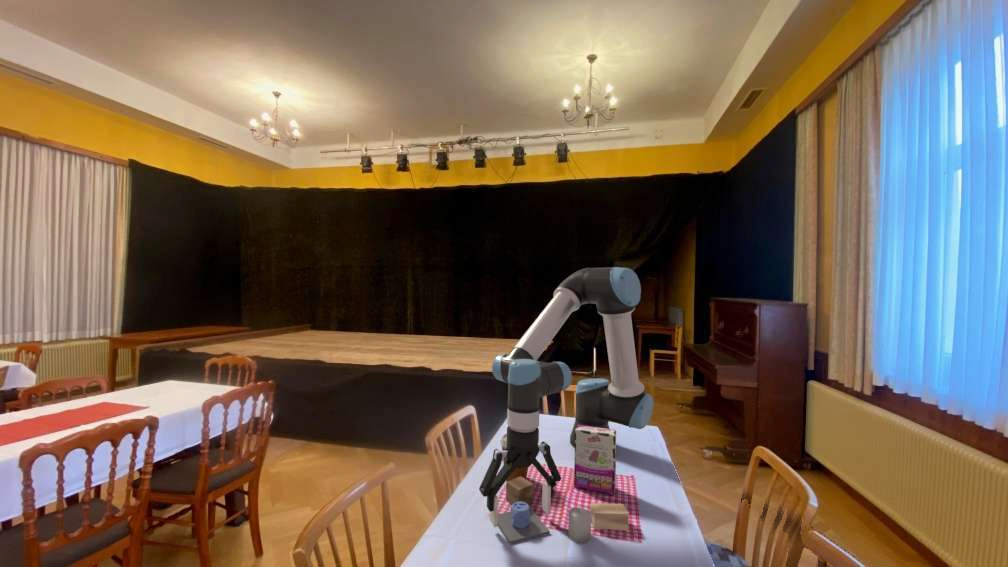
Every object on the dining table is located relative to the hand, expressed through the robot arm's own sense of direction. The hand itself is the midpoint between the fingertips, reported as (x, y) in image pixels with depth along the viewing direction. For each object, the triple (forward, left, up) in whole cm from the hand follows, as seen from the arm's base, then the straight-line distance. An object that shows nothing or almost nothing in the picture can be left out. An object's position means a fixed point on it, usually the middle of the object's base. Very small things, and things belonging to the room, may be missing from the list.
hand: (520, 517), depth 89 cm
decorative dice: (0, 0, -2) cm, 2 cm away
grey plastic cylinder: (-11, +8, -2) cm, 14 cm away
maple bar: (-20, +7, -2) cm, 21 cm away
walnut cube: (-4, -9, -2) cm, 10 cm away
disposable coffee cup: (-8, -20, -2) cm, 22 cm away
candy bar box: (-27, -8, -2) cm, 28 cm away
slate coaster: (0, 0, -2) cm, 2 cm away
